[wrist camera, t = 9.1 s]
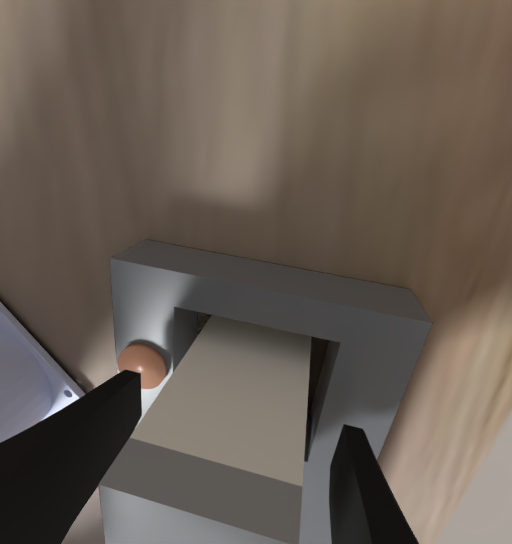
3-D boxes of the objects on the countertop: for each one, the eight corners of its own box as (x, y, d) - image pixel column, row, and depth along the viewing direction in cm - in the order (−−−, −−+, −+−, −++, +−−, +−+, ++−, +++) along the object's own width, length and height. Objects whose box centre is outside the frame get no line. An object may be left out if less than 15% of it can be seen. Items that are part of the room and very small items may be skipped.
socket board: (145, 239, 13) (103, 261, 11) (411, 289, 12) (436, 328, 9) (150, 480, 20) (124, 530, 17) (324, 533, 18) (324, 596, 16)
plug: (214, 310, 14) (98, 484, 7) (311, 330, 13) (298, 546, 6) (208, 385, 16) (110, 588, 8) (294, 406, 15) (268, 645, 8)
